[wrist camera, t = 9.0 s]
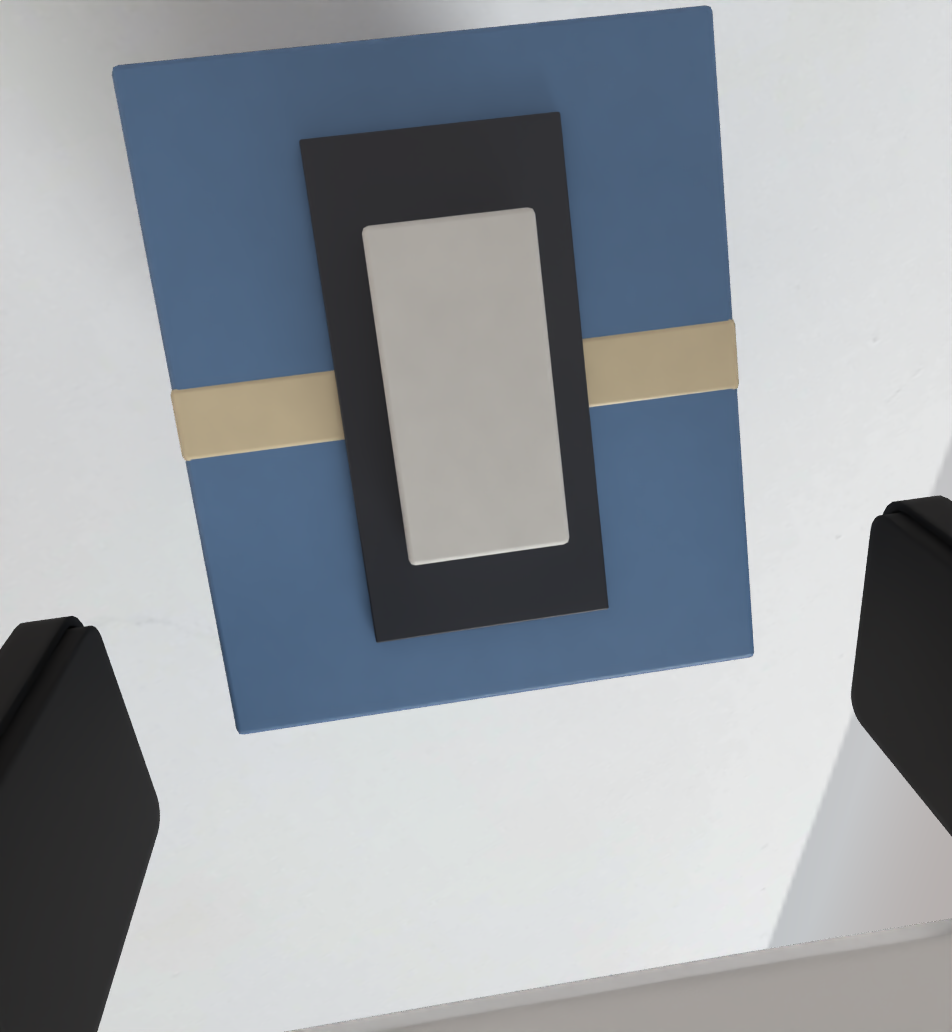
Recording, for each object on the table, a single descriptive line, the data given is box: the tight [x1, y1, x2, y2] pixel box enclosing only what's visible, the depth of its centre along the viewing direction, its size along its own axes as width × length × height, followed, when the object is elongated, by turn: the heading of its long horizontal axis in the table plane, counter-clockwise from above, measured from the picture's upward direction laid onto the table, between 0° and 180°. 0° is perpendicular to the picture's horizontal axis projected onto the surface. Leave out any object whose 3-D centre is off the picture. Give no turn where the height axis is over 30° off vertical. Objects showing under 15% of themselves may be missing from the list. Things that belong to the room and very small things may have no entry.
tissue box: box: [112, 6, 754, 734], centre depth 15 cm, size 14×6×7 cm
